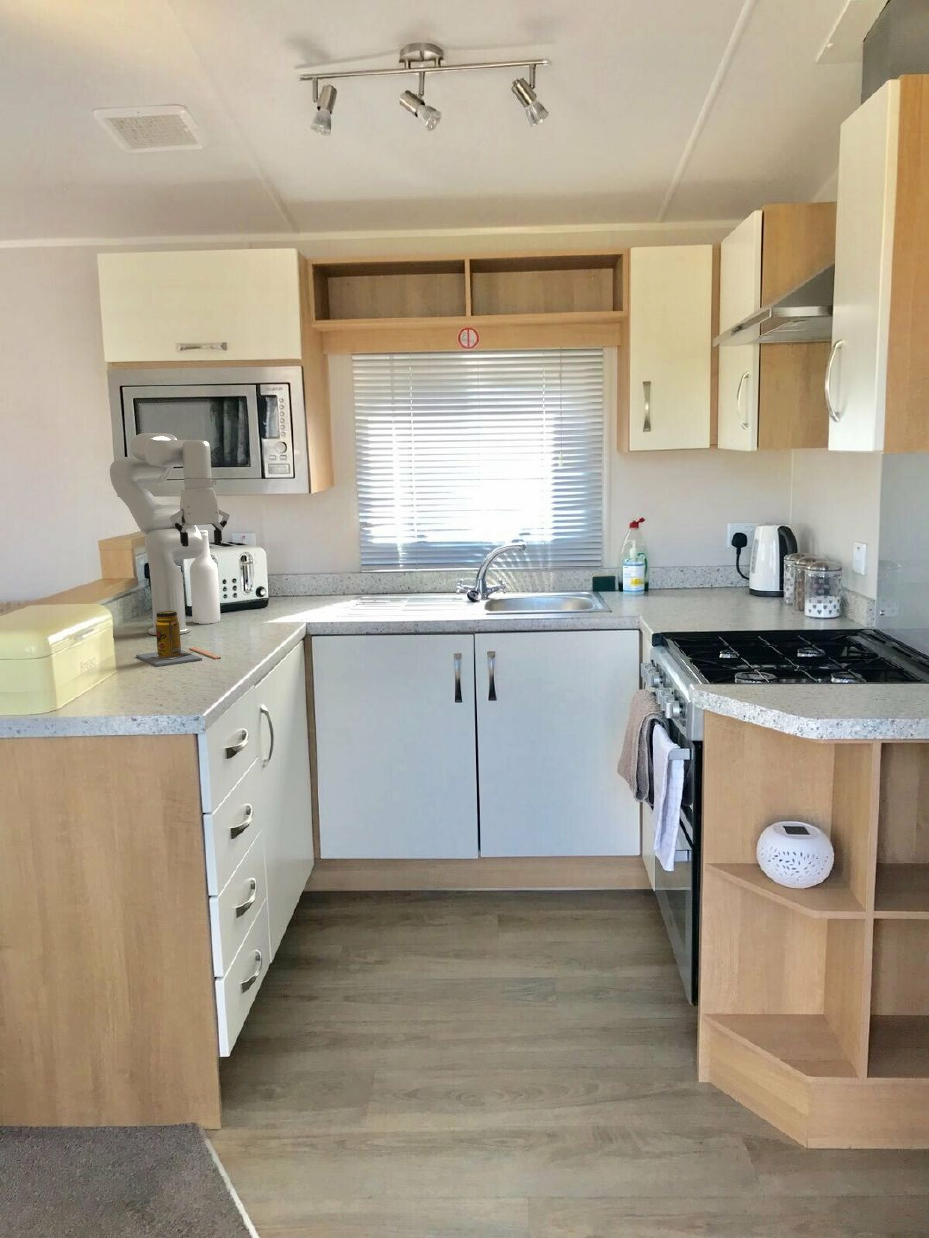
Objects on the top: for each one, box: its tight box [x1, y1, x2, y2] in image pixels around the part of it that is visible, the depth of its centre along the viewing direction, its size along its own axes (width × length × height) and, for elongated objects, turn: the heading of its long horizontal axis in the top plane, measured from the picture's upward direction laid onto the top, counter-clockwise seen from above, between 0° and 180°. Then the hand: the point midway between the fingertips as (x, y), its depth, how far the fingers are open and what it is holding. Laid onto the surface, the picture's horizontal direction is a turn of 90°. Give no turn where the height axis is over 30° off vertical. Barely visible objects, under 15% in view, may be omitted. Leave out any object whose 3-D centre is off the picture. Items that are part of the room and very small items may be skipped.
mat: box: [135, 649, 203, 667], centre depth 255 cm, size 16×12×1 cm
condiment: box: [154, 611, 192, 659], centre depth 255 cm, size 7×8×12 cm
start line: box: [189, 646, 221, 660], centre depth 261 cm, size 18×2×1 cm, turn 37°
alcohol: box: [189, 529, 222, 625], centre depth 310 cm, size 9×9×30 cm
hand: (201, 545), depth 273 cm, fingers open, 9 cm apart
